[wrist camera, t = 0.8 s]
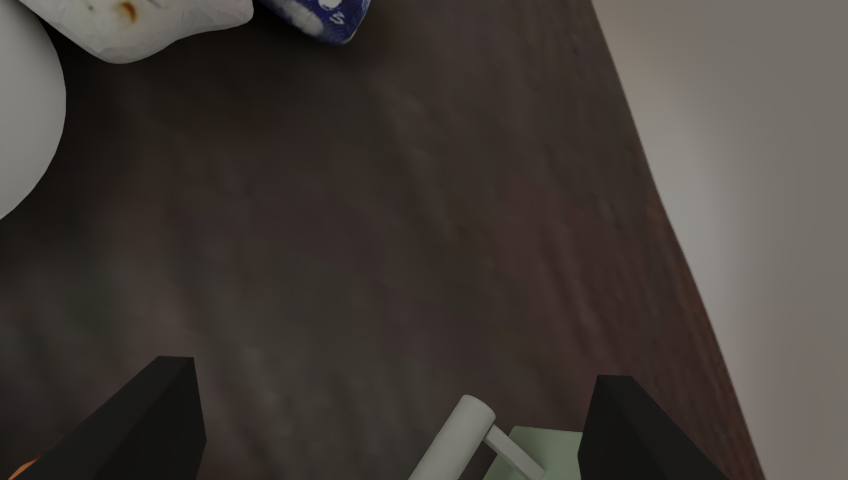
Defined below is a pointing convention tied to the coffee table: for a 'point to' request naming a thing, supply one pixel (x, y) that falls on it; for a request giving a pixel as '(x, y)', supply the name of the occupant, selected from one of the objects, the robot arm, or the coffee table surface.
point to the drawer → (498, 448)
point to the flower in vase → (27, 102)
